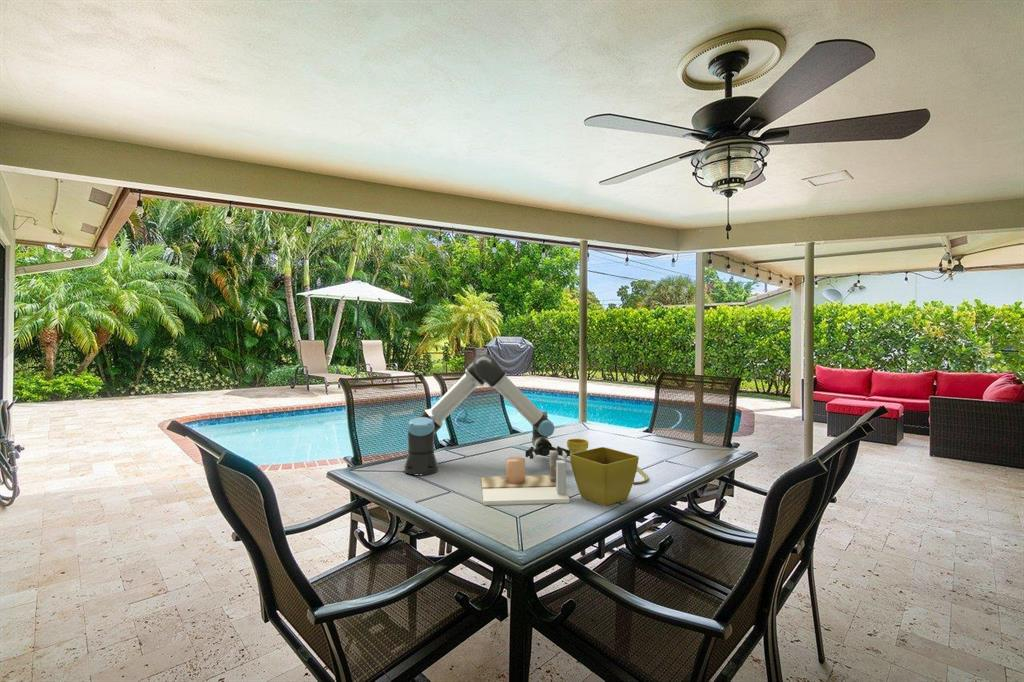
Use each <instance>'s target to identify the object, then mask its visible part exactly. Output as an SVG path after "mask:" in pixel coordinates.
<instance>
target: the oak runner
mask: <svg viewBox="0 0 1024 682" xmlns="http://www.w3.org/2000/svg"><path fill="white" fill-rule="evenodd" d="M548 456H549V465H548V466H549V468H548V469H549V474H544V475H542V474H541V475H540V474H539V475H525V482H524V483H521V484H510V483H507V482H506V475H502V476H501V475H499V476H481V481H480V483H481V490H482V489H498V488H536V487H556V460H559V455H558V452H557V450H550V454H549V455H548Z"/></svg>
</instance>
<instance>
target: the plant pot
mask: <svg viewBox="0 0 1024 682" xmlns="http://www.w3.org/2000/svg"><path fill="white" fill-rule="evenodd" d="M566 448H568V449H567V450H570V454H572V453H576V452H581V451H585V450H588V449H589V441H588V440H587V439H585V438H583V439H582V438H569V439H567V441H566Z"/></svg>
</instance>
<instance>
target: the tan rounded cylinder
mask: <svg viewBox="0 0 1024 682" xmlns="http://www.w3.org/2000/svg"><path fill="white" fill-rule="evenodd" d="M505 476H506V482H507V483H510V484H521V483H524V482H525V476H526V459H525V457H522V456H521V457H520V456H510V457H507V458H505Z"/></svg>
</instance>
